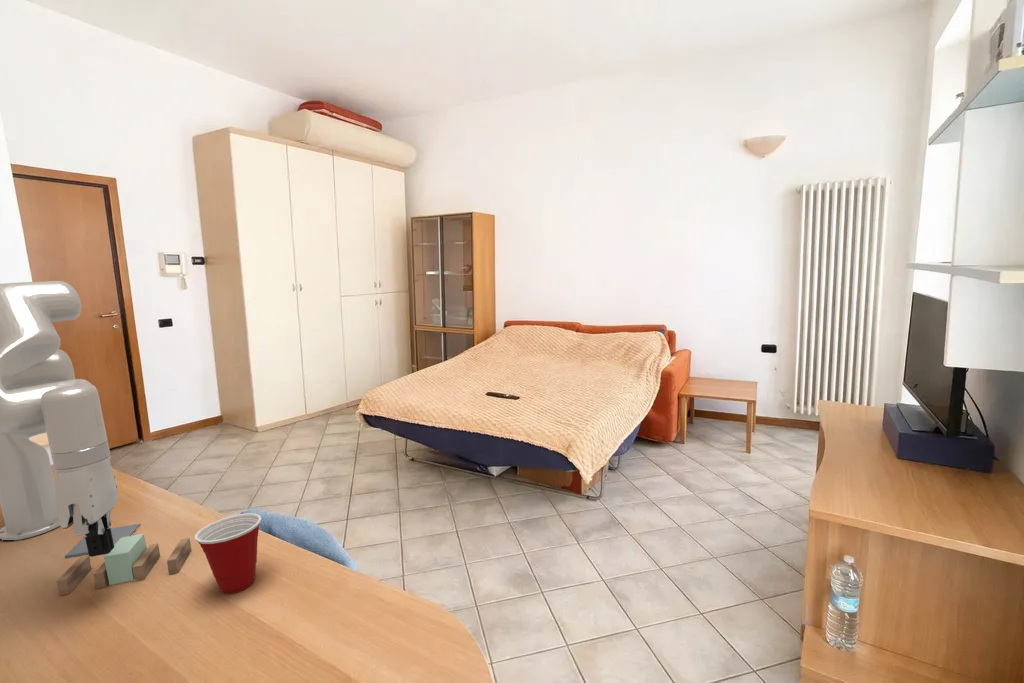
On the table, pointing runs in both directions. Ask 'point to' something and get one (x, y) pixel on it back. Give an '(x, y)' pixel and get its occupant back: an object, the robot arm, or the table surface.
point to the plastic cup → (231, 550)
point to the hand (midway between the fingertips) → (102, 552)
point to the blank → (124, 558)
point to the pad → (116, 535)
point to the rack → (139, 569)
